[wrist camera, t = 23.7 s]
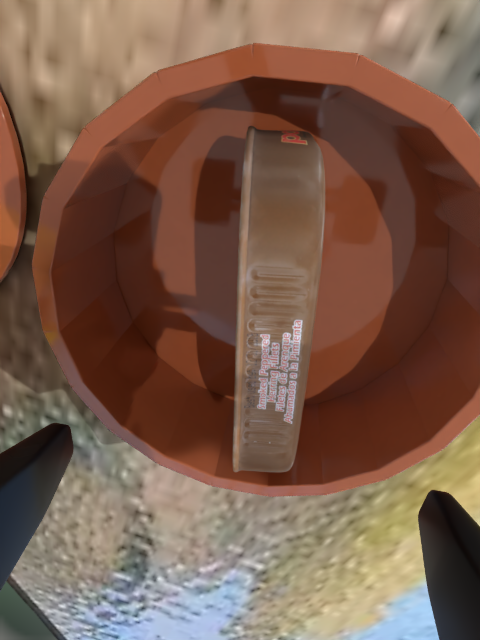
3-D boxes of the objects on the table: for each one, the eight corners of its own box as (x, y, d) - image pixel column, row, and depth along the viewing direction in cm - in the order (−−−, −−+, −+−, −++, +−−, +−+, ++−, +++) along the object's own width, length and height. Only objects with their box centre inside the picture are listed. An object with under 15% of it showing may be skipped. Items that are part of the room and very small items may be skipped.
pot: (91, 48, 17) (-13, 15, 11) (532, 94, 16) (664, 84, 10) (115, 384, 26) (63, 459, 20) (397, 431, 25) (426, 526, 19)
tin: (252, 122, 17) (217, 129, 10) (324, 125, 17) (344, 135, 9) (241, 391, 24) (216, 512, 17) (291, 396, 24) (288, 522, 17)
